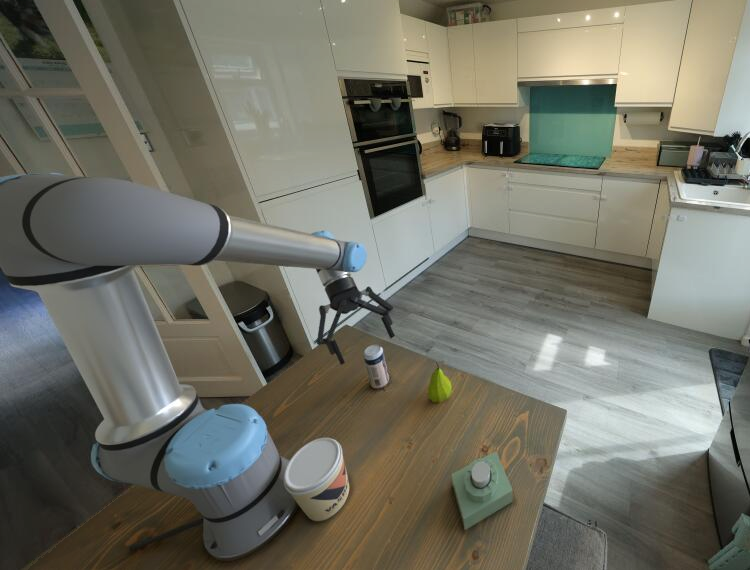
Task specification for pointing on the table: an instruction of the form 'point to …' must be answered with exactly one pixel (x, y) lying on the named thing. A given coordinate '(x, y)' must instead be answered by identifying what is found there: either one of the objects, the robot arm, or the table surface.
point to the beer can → (376, 366)
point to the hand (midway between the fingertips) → (369, 350)
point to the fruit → (439, 386)
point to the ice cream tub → (318, 478)
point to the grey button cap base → (481, 491)
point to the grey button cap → (480, 474)
